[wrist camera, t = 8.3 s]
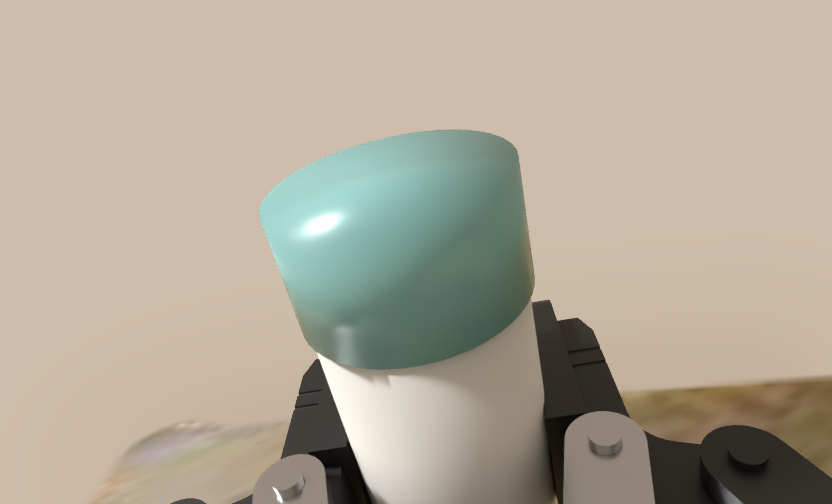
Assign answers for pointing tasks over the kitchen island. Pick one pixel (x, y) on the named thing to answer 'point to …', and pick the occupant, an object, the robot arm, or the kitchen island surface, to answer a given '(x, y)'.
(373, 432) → the bottle
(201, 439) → the kitchen island surface
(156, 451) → the kitchen island surface
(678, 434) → the kitchen island surface
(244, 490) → the kitchen island surface
